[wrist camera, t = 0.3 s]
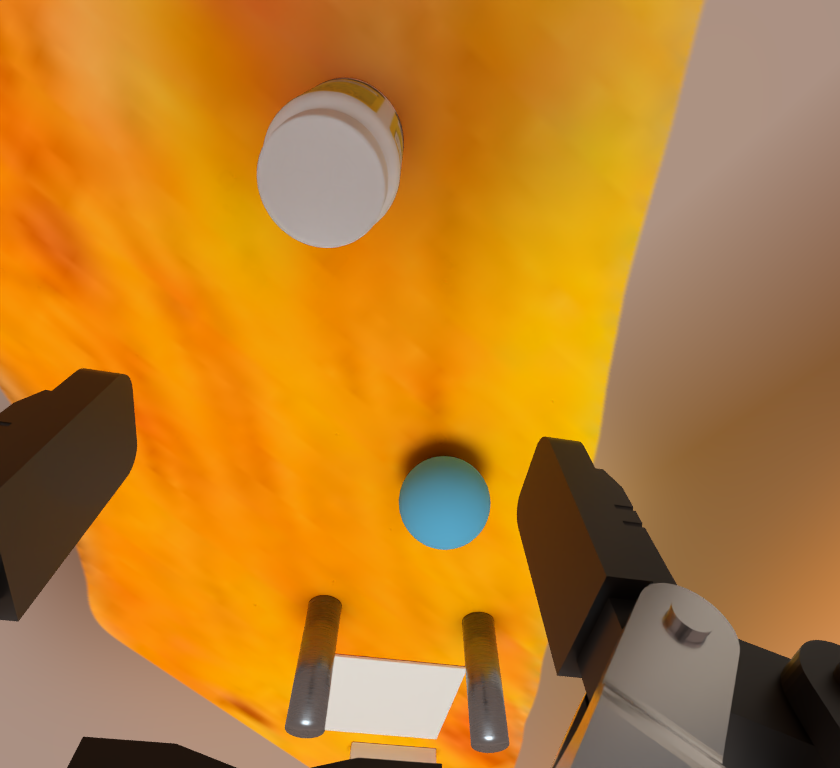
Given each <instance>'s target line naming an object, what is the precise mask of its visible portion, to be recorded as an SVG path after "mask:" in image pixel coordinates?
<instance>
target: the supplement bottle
mask: <svg viewBox="0 0 840 768" xmlns="http://www.w3.org/2000/svg"><path fill="white" fill-rule="evenodd" d="M403 148H404V139H403V130H402V126H401V122H400V119H399V117H398V115H397V112H396V110H395V109H394V107H393V105H392V104H391V103H390V101H389V100H388V99H387V98H386V97H385V96H384V95H383V94H382V93H381V92H380V91H379V90H377V89H376V88H375V87H373V86H372V85H370V84H368V83H366V82H364V81H361V80H357V79H353V78H337V79H332V80H329V81H326V82H324V83H322V84H320V85H318V86H316V87H314V88H312V89H311V90H309V91H307V92H305V93H303V94H302V95H300V96H298V97H296V98H294V99H292V100H291V101H290V102H288V103H287V104H286V105H285V106H284V107H283V108H282V109H281V110H280V111H279V112H278V113H277V114H276V116H275V117H274V119H273V121H272V122H271V124H270V126H269V128H268V131H267V134H266V137H265V140H264V145H263V148H262V150H261V153H260V156H259V160H258V165H257V183H258V189H259V194H260V197H261V199H262V202H263V204H264V206H265V208H266V210H267V212H268V214H269V215H270V216H271V218H272V219H273V221H274V222H275V223H276V224H277V225H278V226H279V227H280V228H281V229H282V230H283V231H284V232H285V233H287V234H288V235H290V236H291V237H293V238H294V239H296V240H298V241H300V242H302V243H304V244H307V245H311V246H315V247H322V248H334V247H340V246H344V245H347V244H350V243H352V242H354V241H356V240H358V239H359V238H361V237H362V236H364V235H365V234H366V233H367V232H368V231H369V230H370V229H371V228H372V226H373V225H374V224H376V223H377V222H378V221H379V220H380V219H381V218H382V217H383V216H384V215H385V214H386V212H387V211H388V209H389V208H390V206H391V205H392V203H393V201H394V199H395V196H396V194H397V191H398V187H399V183H400V175H401V165H402V156H403Z"/></svg>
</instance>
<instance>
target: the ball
mask: <svg viewBox="0 0 840 768" xmlns="http://www.w3.org/2000/svg"><path fill="white" fill-rule="evenodd" d="M399 510H400V514H401V518H402V520H403V523H404V525H405V526H406V528H407V529H408V531H409V532H410V533H411V535H412V536H413V537H414V538H415V539H417V540H418V541H420V542H421V543H423V544H424V545H426V546H429V547H432V548H436V549H443V550H448V549H455V548H458V547H461V546H464V545H466V544H468V543H469V542H471V541H472V540H473V539H474V538H476V537H477V536H478V534H479V533H480V532H481V531H482V529H483V528H484V526H485V524H486V522H487V519H488V516H489V512H490V495H489V491H488V487H487V485H486V483H485V481H484V479H483V477H482V476H481V474H480V473H479V472H478V471H477V470H476V469H475V468H474V467H473V466H472V465H470V464H469V463H467V462H465V461H464V460H461V459H459V458H456V457H450V456H438V457H433V458H430V459H427V460H425V461H423V462H421V463H420V464H418V465H417V466H415V467H414V468H413V469H412V470H411V471H410V473H409V474H408V475H407V477H406V478H405V480H404V482H403V484H402V487H401V490H400V496H399Z"/></svg>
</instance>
